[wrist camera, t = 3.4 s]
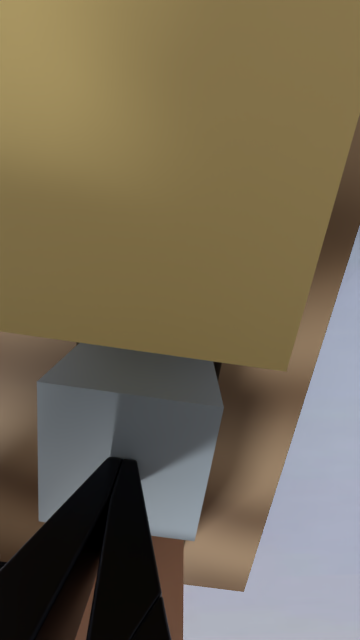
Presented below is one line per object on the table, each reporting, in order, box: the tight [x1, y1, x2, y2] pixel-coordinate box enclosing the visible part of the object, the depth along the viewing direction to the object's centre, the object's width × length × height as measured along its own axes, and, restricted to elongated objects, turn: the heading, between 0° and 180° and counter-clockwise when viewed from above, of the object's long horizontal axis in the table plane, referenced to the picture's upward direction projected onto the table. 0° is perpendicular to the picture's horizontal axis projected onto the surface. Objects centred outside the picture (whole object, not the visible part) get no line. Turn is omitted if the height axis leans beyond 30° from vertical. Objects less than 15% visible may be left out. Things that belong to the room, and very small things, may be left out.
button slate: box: [37, 343, 224, 541], centre depth 10 cm, size 5×5×6 cm
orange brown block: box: [75, 536, 184, 640], centre depth 10 cm, size 5×5×6 cm
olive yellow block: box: [0, 0, 360, 372], centre depth 6 cm, size 5×5×6 cm
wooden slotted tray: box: [0, 115, 360, 592], centre depth 13 cm, size 24×14×2 cm, turn 172°
